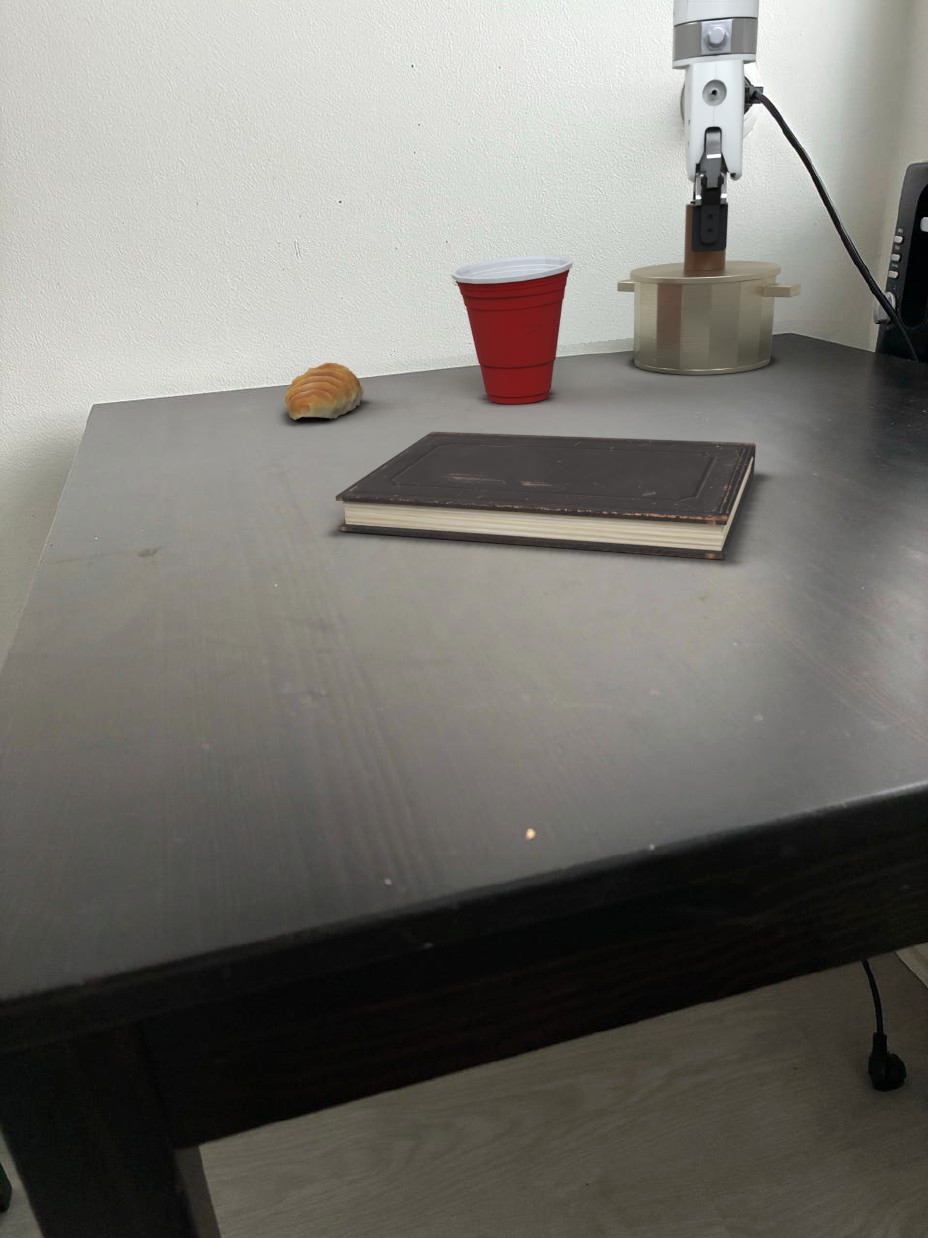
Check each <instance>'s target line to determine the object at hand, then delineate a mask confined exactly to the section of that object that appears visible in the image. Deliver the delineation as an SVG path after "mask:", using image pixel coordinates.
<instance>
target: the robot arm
mask: <svg viewBox="0 0 928 1238" xmlns="http://www.w3.org/2000/svg"><path fill="white" fill-rule="evenodd" d="M672 9H673V10H672V27H673V28H672V51H671V53H672V54H671V57H672V58H671V69H672V70H681V71H682V70H684V106H683V109H684V113H683V114H684V115H683V116H684V119H683V120H684V122H683V125H684V129H683V131H684V132H683V135H684V155H685V156H684V157H685V166H686V167H685V168H686V176H687V180H689V181H690V182H691V183H692V184H693V187H692V200H691V201H690V202H689V204H692V203H696V204H695V206H693V208H692V240H691V249H692V251H693V252H709V251H723V250H725V249H726V250H727V243H728V224H729V223H728V221H729V203H728V204H726V202H727V191H728V189H727V179H728V178H727V177H728V174H729V178H730V180H732V181H738V180H740V179H741V177H742V176H743V148H744V122H745V121H744V120H745V94H746V93H745V92H746V91H745V85H746V84H745V65H749V64H752V63H756V62H757V51H758V35H759V34H758V30H759V15H760V14H759V10H760V0H673V7H672Z"/></svg>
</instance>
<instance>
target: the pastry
mask: <svg viewBox="0 0 928 1238" xmlns="http://www.w3.org/2000/svg"><path fill="white" fill-rule="evenodd" d="M364 394H365V387H364V386H363V385H362V384H361V382H360V380H359V378H358V377H357V376H356V375H355V374H354V373H353V371H351V369H349V367H347V366H345V365H343V364H339V363H337V362H325V363H322V364H319V365H318V366H316V367H308V369H307V371H305V372H304V374H301V375H298V376H296V377H295V378H294V379H293V380H292V381H291V384H290V385H289V387H288V388H287V390H286V393H285V396H284V398H285V399H284V400H285V402H286V409H287V412H288V416H289V417H290V419H293V420H294V421H296V420H299V419H300V418H302V417H303V418H325V419H330V420H333V419H334V420H335V419H338V417H339V416H341V415H346V414H348V413H349V412H352V411H353V410H355V409H356V408H357V406H360V405H361V400H362V398H363V396H364Z"/></svg>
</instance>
